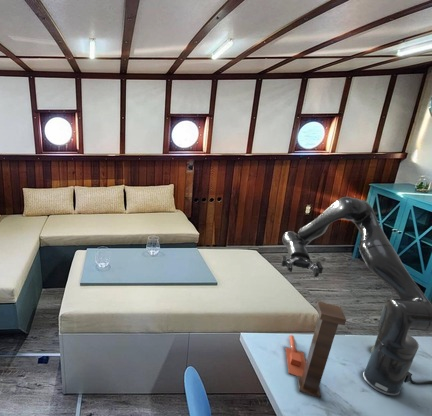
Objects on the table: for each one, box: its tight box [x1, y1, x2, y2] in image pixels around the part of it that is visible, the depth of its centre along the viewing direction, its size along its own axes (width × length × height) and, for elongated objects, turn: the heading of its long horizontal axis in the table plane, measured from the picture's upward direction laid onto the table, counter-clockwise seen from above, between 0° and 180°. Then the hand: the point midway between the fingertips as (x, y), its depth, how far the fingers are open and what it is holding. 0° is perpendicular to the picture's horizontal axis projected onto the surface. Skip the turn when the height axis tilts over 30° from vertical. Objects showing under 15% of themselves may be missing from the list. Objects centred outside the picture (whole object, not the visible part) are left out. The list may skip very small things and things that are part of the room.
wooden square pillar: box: [296, 301, 347, 399], centre depth 92 cm, size 6×6×32 cm
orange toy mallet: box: [288, 334, 301, 367], centre depth 111 cm, size 15×3×2 cm, turn 154°
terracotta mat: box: [285, 347, 306, 377], centre depth 106 cm, size 13×6×1 cm, turn 154°
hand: (303, 272), depth 114 cm, fingers open, 8 cm apart
